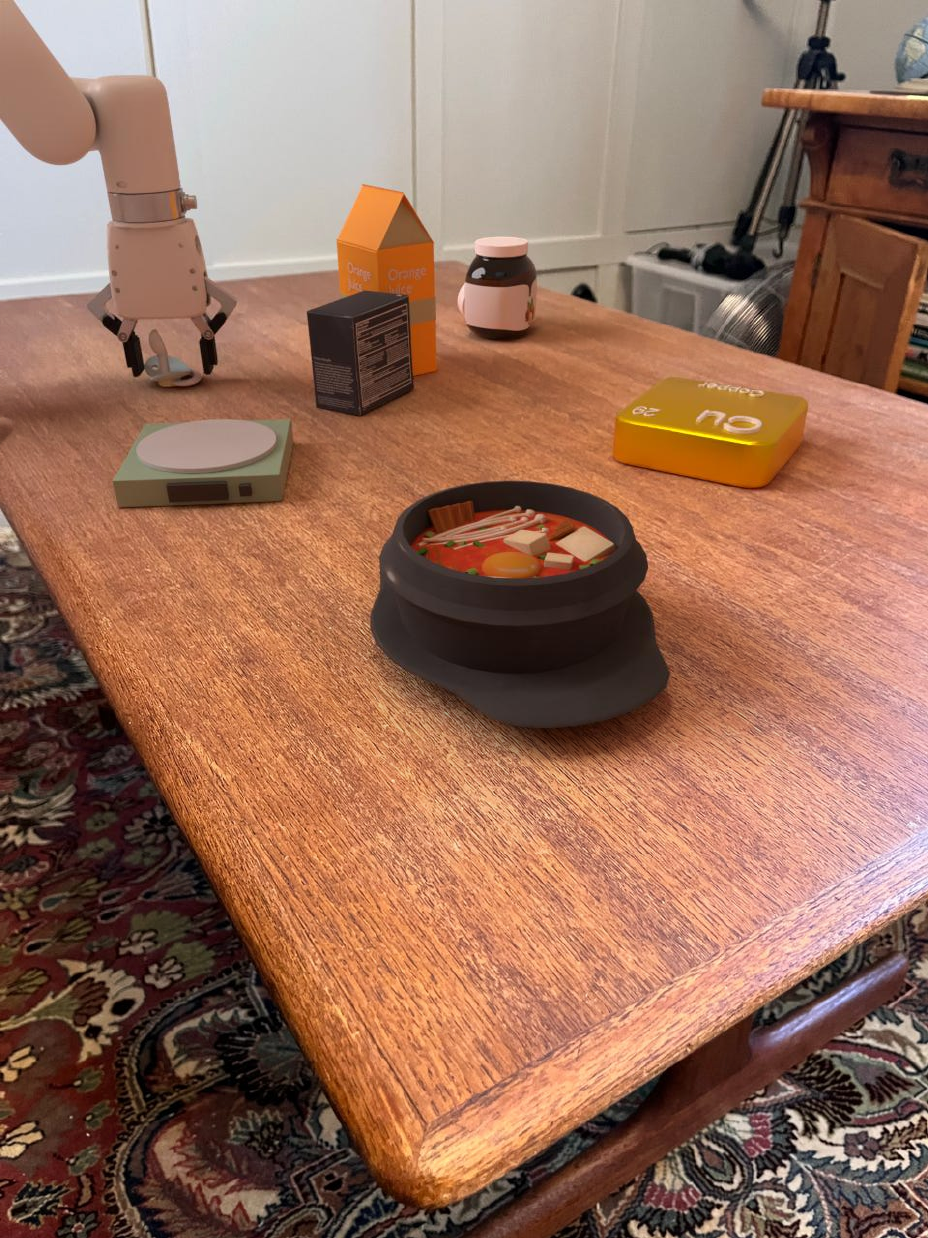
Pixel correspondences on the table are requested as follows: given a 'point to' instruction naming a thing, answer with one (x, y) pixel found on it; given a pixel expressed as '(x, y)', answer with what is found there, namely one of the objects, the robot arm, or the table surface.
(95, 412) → the table surface
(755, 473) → the element tile
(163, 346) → the pacifier
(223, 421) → the scale
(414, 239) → the orange juice
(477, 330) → the spread jar
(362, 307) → the small box
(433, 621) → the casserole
